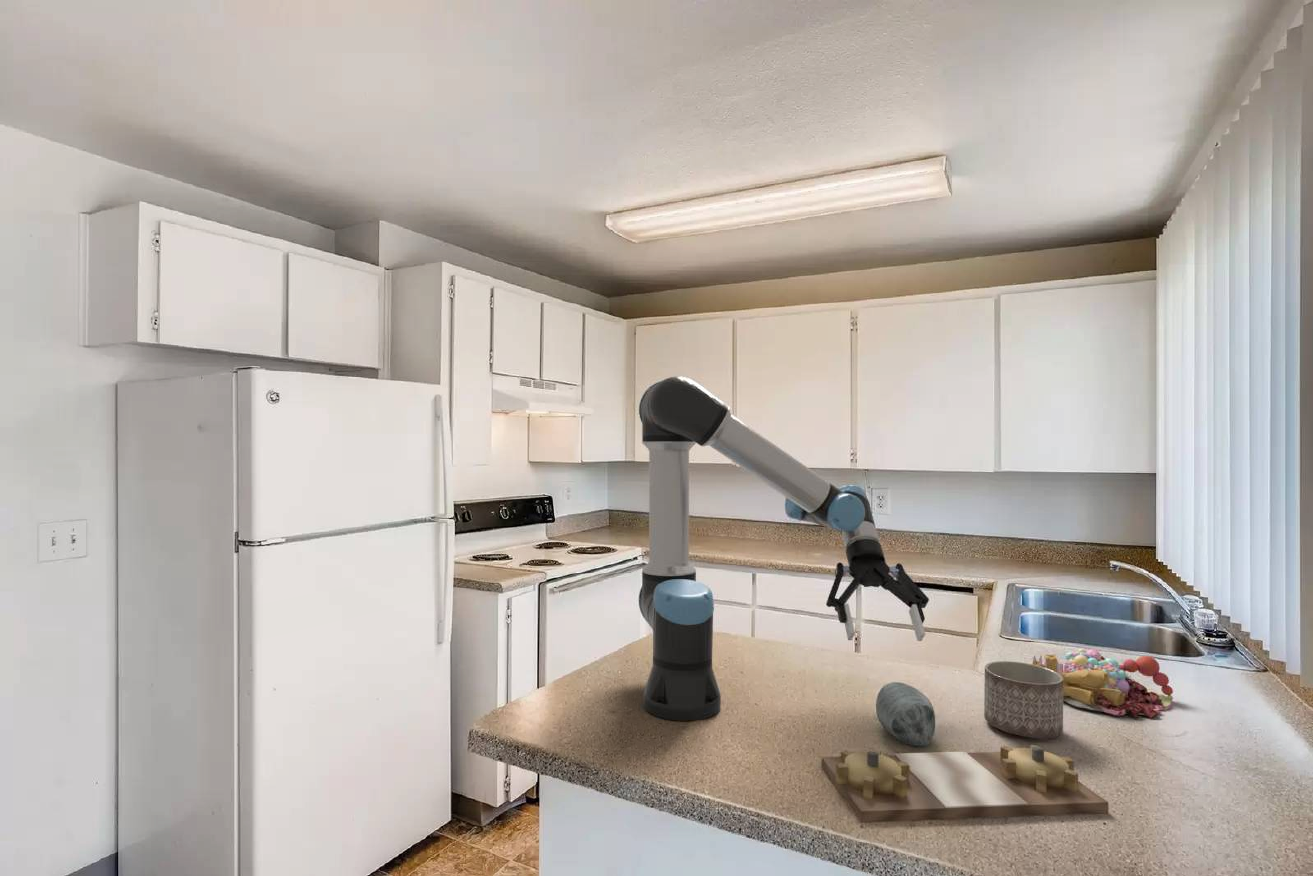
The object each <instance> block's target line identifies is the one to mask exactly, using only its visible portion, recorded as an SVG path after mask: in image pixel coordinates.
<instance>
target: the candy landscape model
mask: <svg viewBox="0 0 1313 876" xmlns="http://www.w3.org/2000/svg"><path fill="white" fill-rule="evenodd" d="M1057 657H1058V656H1057V655H1056V654H1044V661H1045V662H1044V663H1043V655H1041V654H1040V656H1039V660H1037V657H1036V655H1033V657H1032V663H1031V664H1033V665H1038V666H1041V667H1045V668H1048V669H1051V670H1053V671H1055V672H1057V673H1059V674H1060V675H1061V676H1062V677H1063V702H1066V703H1067V704H1069V705H1072V706H1074V707H1077V708H1084V709H1087V710H1092V711H1097V712H1102V713H1103V712H1104V713H1106V714H1111V715H1113V716H1124V715H1125V714H1126V715H1129V716H1130V717H1133V718H1135V719H1138V716H1139V715H1141V716H1147V717H1149V718H1150V719H1151V718H1154V717H1155V716H1157V715H1158V714H1160V711H1162V710H1163V711H1167V710H1169V709H1171V707H1172V706H1173V704H1174V703H1173V699H1174V697H1173V693H1174V690H1173V688H1172V686H1170V685H1169V683H1170V679H1169V677H1168V675H1167V674H1165V673H1163V672H1160V669H1161V668H1160V663H1159V662H1158V661H1157V659H1155V658H1153V657H1152V656H1149V655H1142V656H1139V657H1138V658H1137V659H1136V661H1135V660H1134V659H1131V658H1130V659H1129V658H1128V659H1125V660H1124V661H1123V662H1122V664H1119V662H1118V660H1116V659H1115V658H1112V657H1107V658H1105V657H1104V656H1102V655H1101V652H1099V650H1097V649H1092V648H1091V649H1088V650H1086V649H1085V648H1079V649H1077V651H1075V652H1073V651H1068V652H1067V653H1065V656H1064V657H1065V660H1067V661H1065V662H1064V663H1059V661H1058V658H1057ZM1126 671H1127V672H1128V673H1126ZM1137 671H1138V673H1140V674H1141V675H1142V676H1145V677H1151V678H1152V681H1153V683H1154V684H1155V685H1156V686H1159V687H1161V693H1160V692H1157V691H1155V690H1151V689H1149V688H1146V686H1144V685H1143V684H1141V683H1140V682H1137V681H1136V680H1135V679H1134V678H1133V676H1131V675H1130V674H1129V673H1135V672H1137Z"/></svg>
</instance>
